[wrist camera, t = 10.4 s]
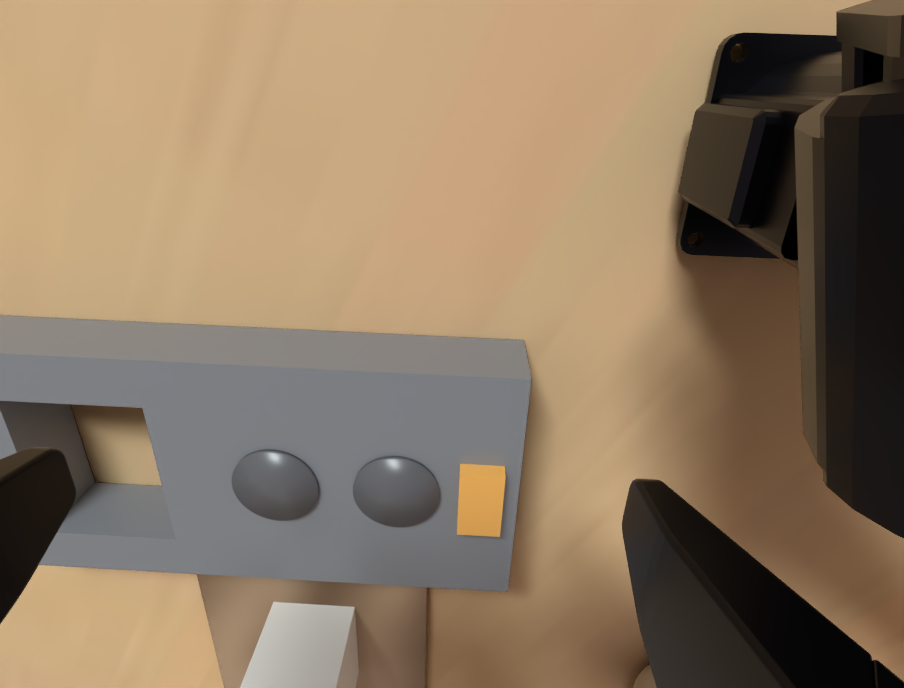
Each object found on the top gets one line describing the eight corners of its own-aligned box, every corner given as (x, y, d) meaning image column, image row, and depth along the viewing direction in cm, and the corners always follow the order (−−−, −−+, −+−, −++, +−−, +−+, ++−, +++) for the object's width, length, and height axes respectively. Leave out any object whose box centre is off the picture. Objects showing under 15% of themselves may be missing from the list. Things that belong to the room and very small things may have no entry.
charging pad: (427, 556, 26) (426, 566, 25) (425, 699, 31) (424, 710, 30) (197, 543, 26) (191, 553, 25) (231, 687, 31) (226, 697, 30)
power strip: (524, 340, 21) (532, 388, 17) (504, 536, 25) (508, 604, 22) (-45, 313, 21) (-139, 355, 18) (33, 510, 26) (-31, 573, 22)
